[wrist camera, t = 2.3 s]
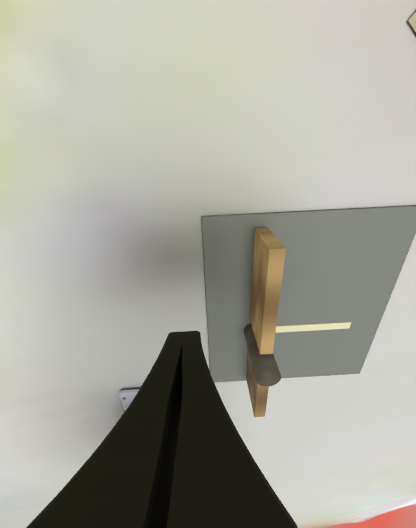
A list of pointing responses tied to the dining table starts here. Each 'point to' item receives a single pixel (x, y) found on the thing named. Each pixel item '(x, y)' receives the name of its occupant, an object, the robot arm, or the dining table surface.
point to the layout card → (305, 286)
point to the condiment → (413, 21)
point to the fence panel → (266, 287)
